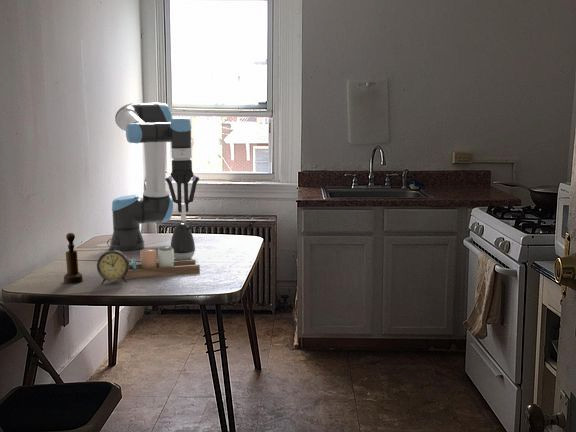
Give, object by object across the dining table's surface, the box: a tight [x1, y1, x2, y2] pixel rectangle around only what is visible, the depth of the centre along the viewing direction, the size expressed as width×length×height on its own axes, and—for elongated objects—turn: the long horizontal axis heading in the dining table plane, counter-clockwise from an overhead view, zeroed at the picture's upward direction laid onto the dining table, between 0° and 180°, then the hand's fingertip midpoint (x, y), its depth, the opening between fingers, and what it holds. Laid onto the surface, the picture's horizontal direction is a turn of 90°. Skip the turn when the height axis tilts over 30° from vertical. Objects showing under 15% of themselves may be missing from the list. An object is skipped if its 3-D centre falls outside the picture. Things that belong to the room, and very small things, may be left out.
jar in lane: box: [139, 248, 158, 269], centre depth 260 cm, size 6×6×9 cm
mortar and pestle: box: [63, 232, 84, 284], centre depth 249 cm, size 7×6×18 cm
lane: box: [124, 259, 201, 280], centre depth 262 cm, size 10×29×3 cm, turn 108°
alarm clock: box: [96, 238, 130, 285], centre depth 247 cm, size 11×5×16 cm, turn 95°
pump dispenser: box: [170, 222, 196, 261], centre depth 284 cm, size 10×10×15 cm
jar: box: [157, 245, 175, 268], centre depth 262 cm, size 6×6×10 cm
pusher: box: [129, 258, 137, 270], centre depth 258 cm, size 7×7×5 cm
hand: (183, 220), depth 264 cm, fingers closed
